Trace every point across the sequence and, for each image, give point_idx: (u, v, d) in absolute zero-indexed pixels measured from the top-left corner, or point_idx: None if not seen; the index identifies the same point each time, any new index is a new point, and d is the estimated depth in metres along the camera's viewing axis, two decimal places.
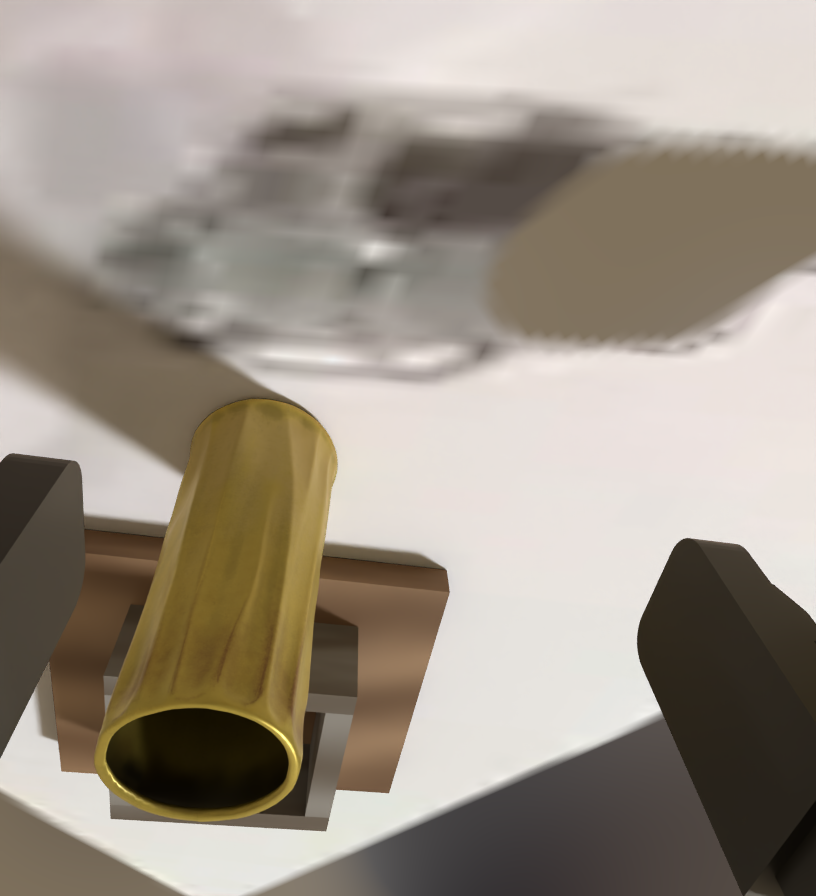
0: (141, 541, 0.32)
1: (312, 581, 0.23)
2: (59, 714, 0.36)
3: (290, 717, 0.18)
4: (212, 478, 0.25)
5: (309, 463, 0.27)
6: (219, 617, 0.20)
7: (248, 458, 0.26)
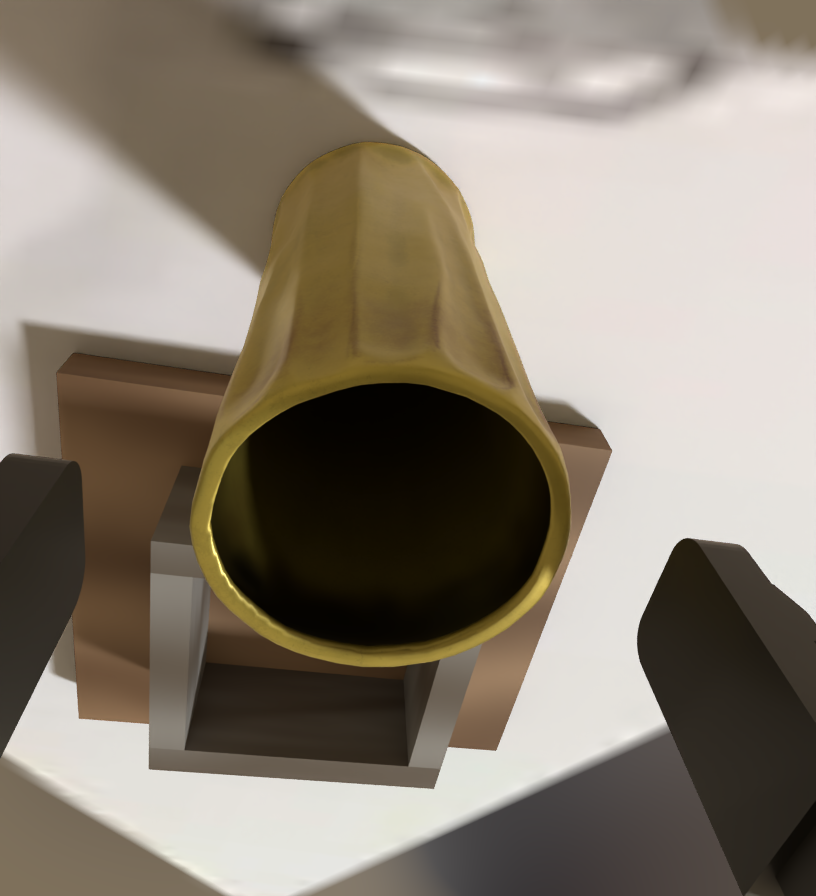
0: (197, 376, 0.23)
1: (505, 322, 0.15)
2: (79, 634, 0.27)
3: (557, 443, 0.10)
4: (331, 199, 0.16)
5: (459, 211, 0.19)
6: (403, 294, 0.11)
7: (379, 182, 0.17)
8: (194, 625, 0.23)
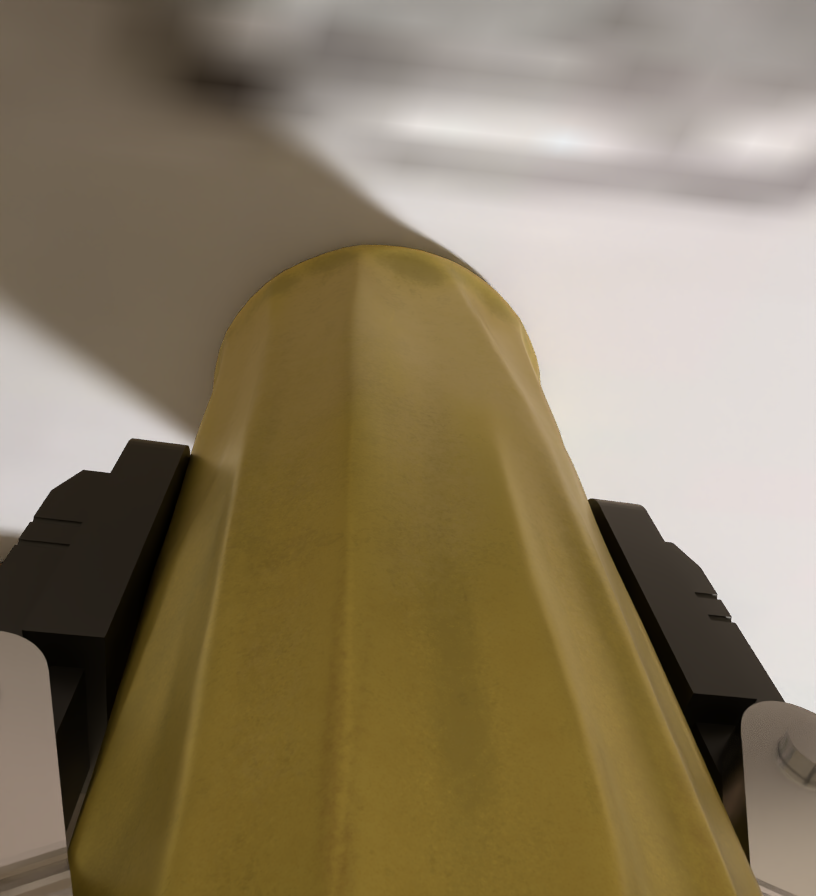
0: None
1: (692, 741, 0.06)
2: None
3: None
4: (297, 399, 0.08)
5: (532, 382, 0.10)
6: None
7: (392, 352, 0.09)
8: None
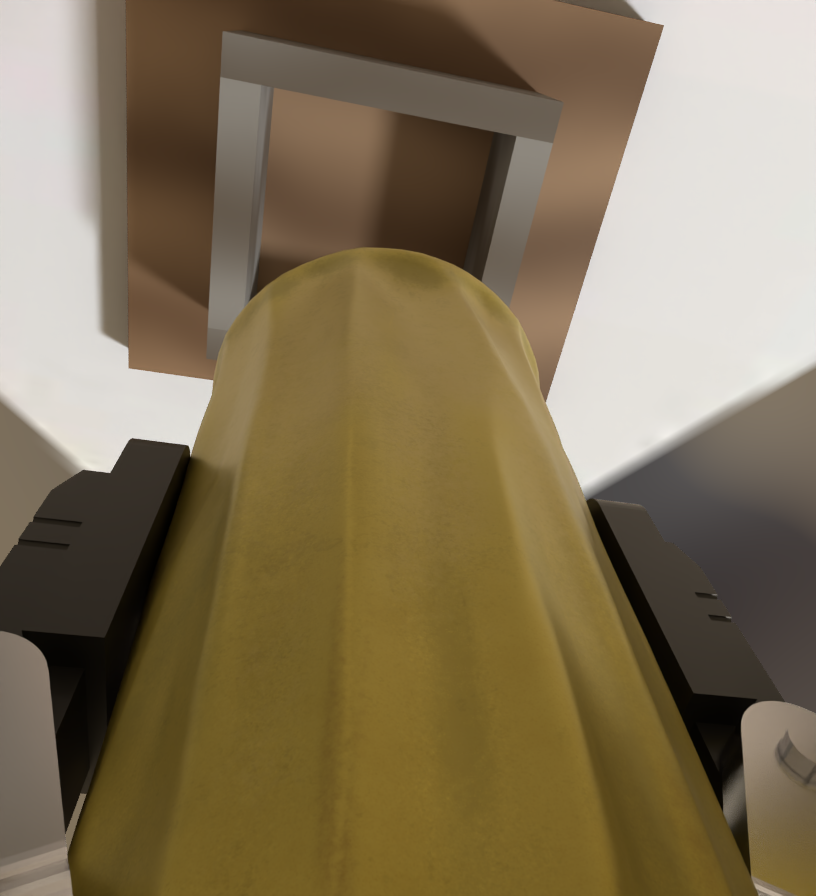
0: None
1: (691, 745, 0.06)
2: (133, 254, 0.28)
3: None
4: (296, 402, 0.08)
5: (532, 385, 0.10)
6: None
7: (391, 355, 0.09)
8: (257, 174, 0.24)
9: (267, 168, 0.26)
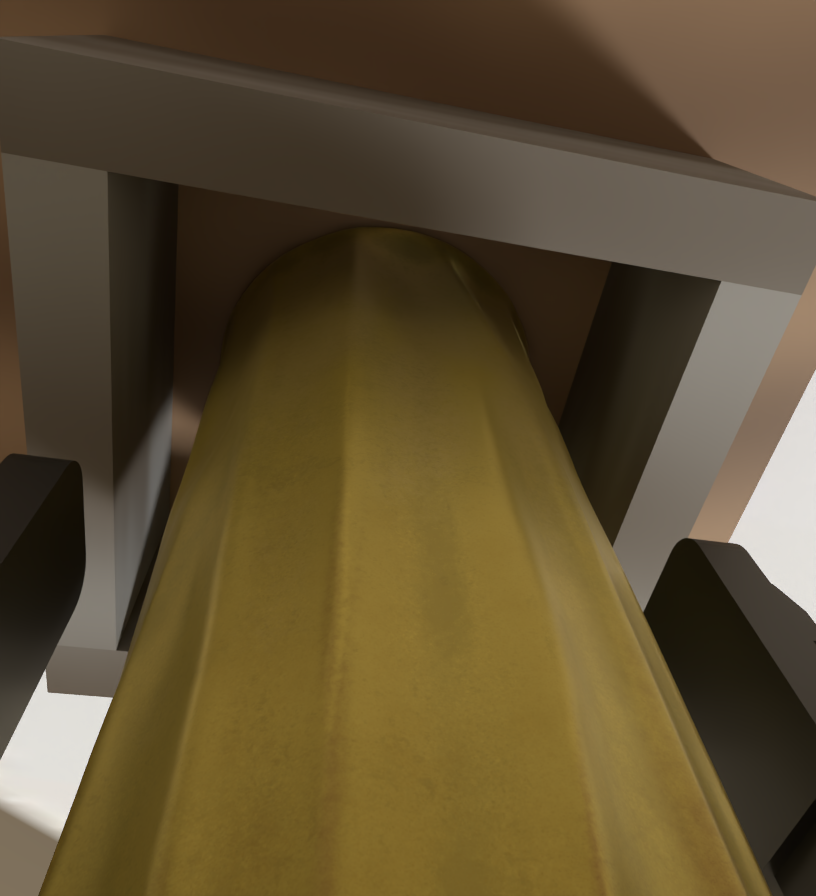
0: None
1: (656, 646, 0.07)
2: None
3: None
4: (299, 357, 0.09)
5: (518, 349, 0.11)
6: (488, 888, 0.03)
7: (386, 318, 0.10)
8: (127, 355, 0.11)
9: (175, 305, 0.13)
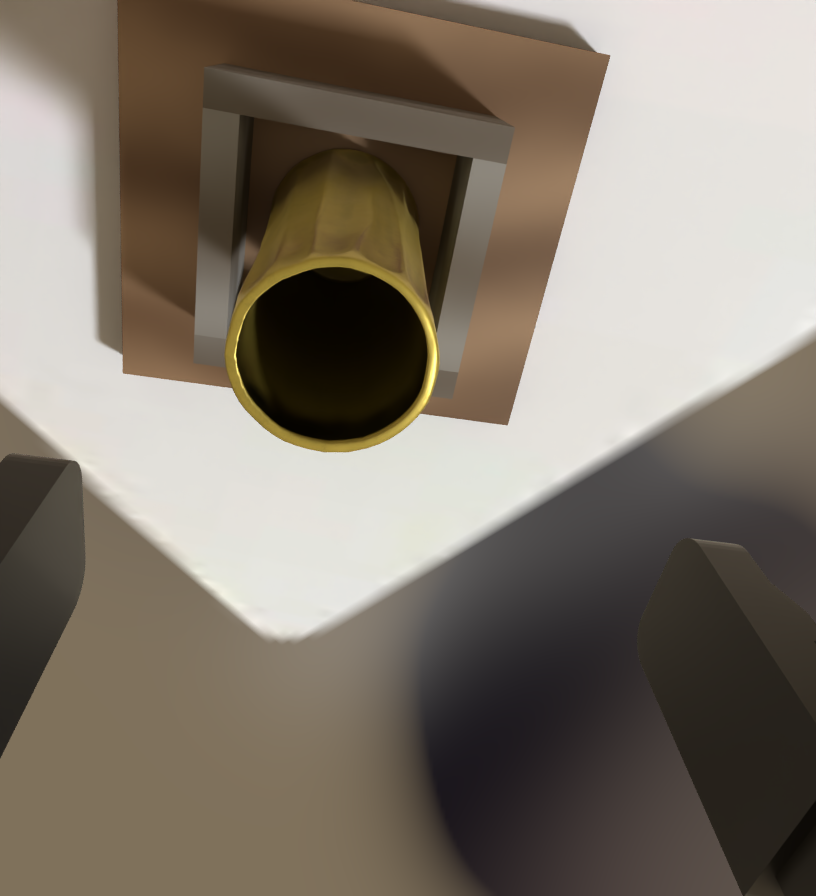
0: None
1: (421, 260, 0.22)
2: (126, 267, 0.30)
3: (429, 307, 0.17)
4: (308, 185, 0.24)
5: (400, 195, 0.26)
6: (345, 231, 0.19)
7: (342, 175, 0.25)
8: (237, 194, 0.26)
9: (249, 187, 0.29)
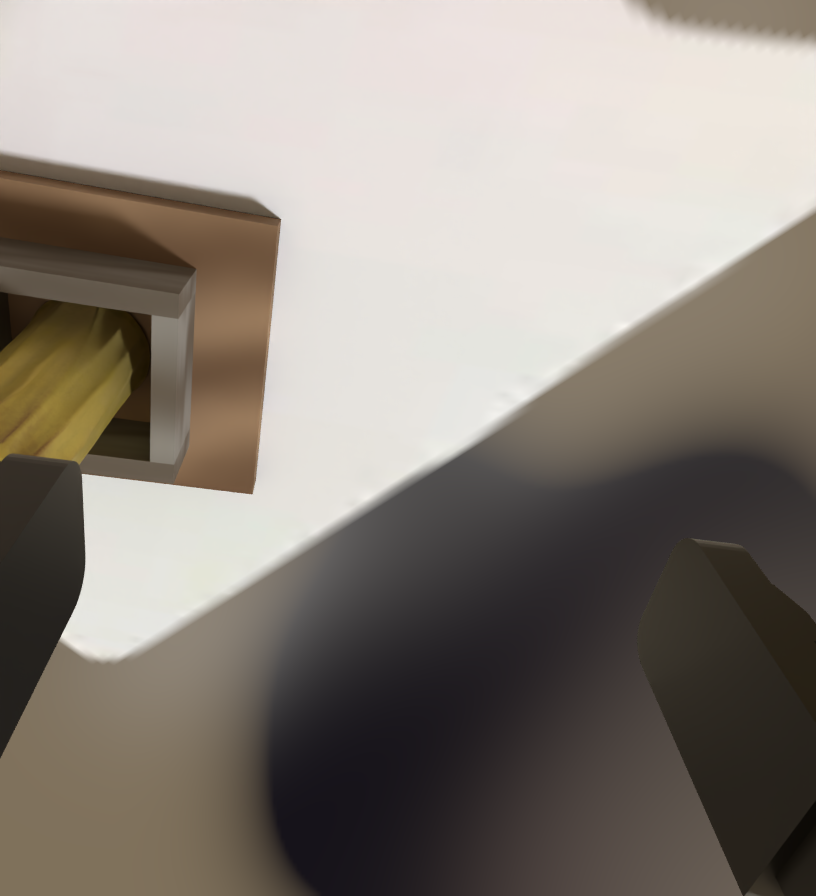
0: None
1: (85, 403, 0.30)
2: None
3: None
4: (21, 338, 0.32)
5: (109, 336, 0.34)
6: None
7: (53, 326, 0.33)
8: None
9: (9, 320, 0.37)
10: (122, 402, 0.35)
